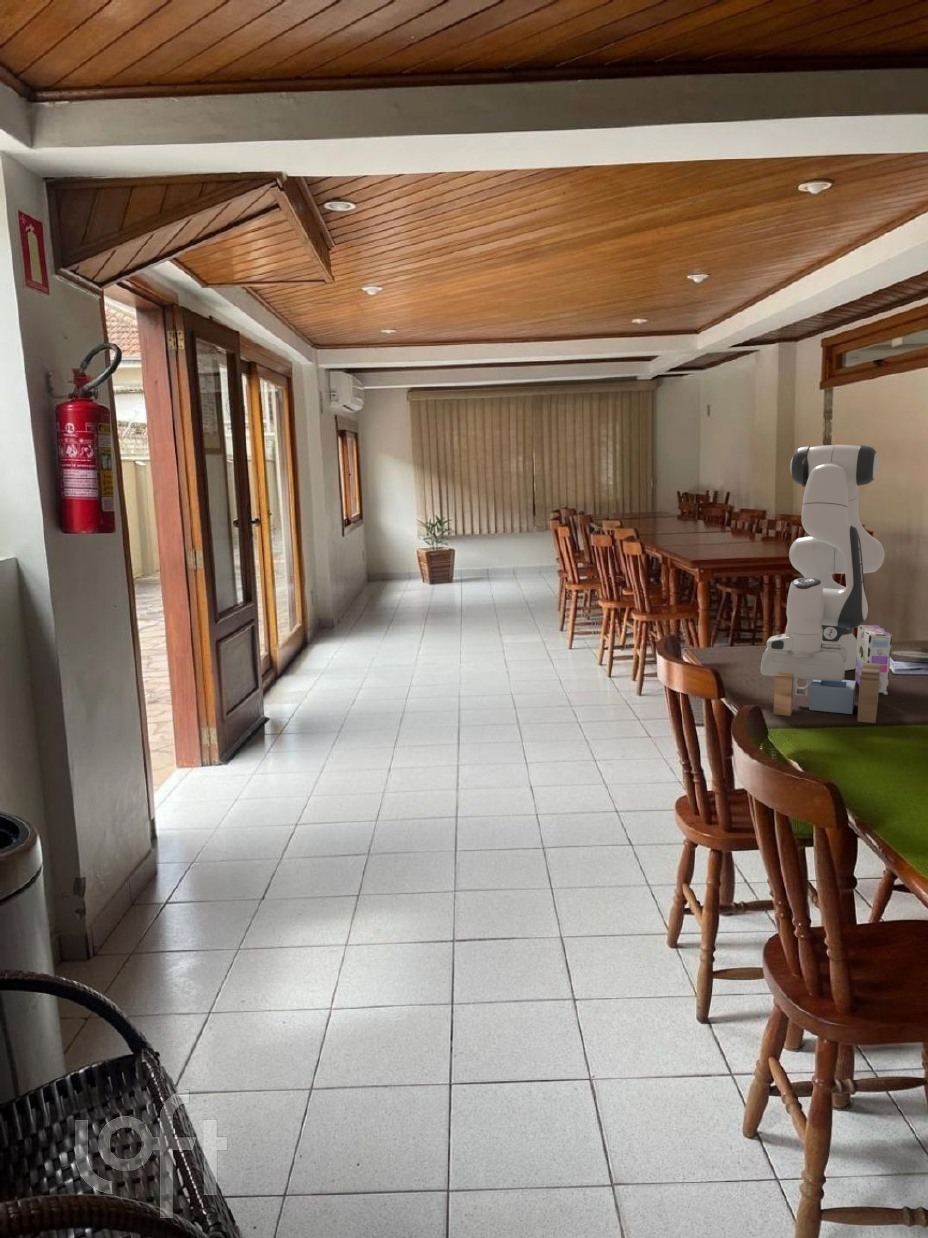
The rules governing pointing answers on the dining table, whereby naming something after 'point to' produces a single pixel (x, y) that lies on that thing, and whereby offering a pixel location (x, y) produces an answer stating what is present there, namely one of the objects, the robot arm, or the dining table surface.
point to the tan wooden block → (783, 693)
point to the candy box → (874, 652)
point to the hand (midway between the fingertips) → (800, 694)
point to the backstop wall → (868, 692)
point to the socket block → (832, 696)
